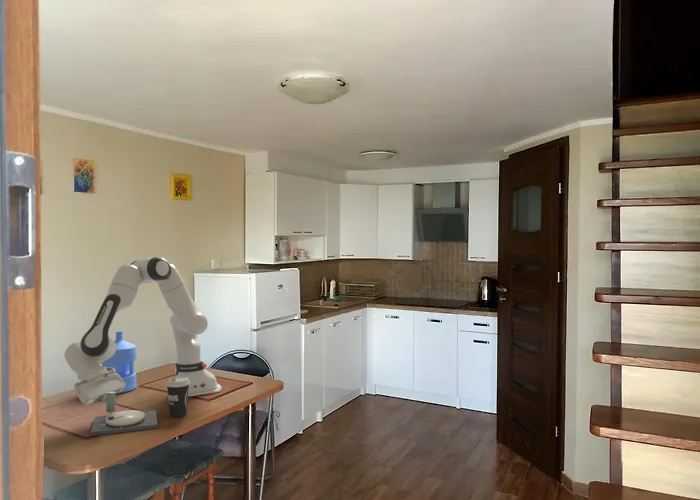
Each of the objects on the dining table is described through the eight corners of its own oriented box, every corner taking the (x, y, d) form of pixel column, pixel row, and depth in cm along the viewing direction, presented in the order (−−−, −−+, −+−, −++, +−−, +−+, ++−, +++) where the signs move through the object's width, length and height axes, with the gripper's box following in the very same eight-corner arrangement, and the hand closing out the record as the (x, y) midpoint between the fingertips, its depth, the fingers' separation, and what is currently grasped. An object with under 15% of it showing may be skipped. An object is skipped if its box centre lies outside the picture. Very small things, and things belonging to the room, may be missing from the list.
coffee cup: (171, 411, 218) (171, 375, 218) (193, 411, 218) (193, 376, 218) (162, 418, 209) (162, 382, 209) (185, 419, 208) (185, 382, 208)
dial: (137, 411, 212) (137, 383, 212) (150, 420, 202) (150, 390, 202) (100, 419, 202) (100, 389, 202) (112, 429, 192) (112, 397, 192)
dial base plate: (156, 413, 215) (155, 409, 215) (157, 428, 198) (157, 423, 198) (94, 420, 206) (94, 416, 206) (90, 436, 189) (90, 431, 189)
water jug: (94, 393, 244) (94, 334, 243) (113, 384, 259) (113, 329, 259) (125, 394, 242) (125, 335, 242) (142, 385, 257) (142, 329, 257)
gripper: (76, 379, 193) (97, 407, 191) (116, 366, 213) (136, 392, 210) (67, 389, 195) (87, 418, 192) (108, 376, 214) (127, 402, 211)
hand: (113, 404), depth 201 cm, fingers closed
